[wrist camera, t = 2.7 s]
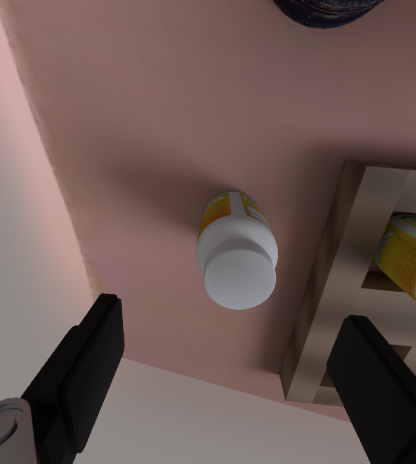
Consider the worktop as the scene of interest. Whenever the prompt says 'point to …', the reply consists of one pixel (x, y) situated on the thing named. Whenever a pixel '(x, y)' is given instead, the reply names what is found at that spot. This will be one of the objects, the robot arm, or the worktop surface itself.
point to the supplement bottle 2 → (399, 252)
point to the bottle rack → (351, 280)
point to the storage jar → (325, 11)
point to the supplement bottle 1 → (236, 252)
